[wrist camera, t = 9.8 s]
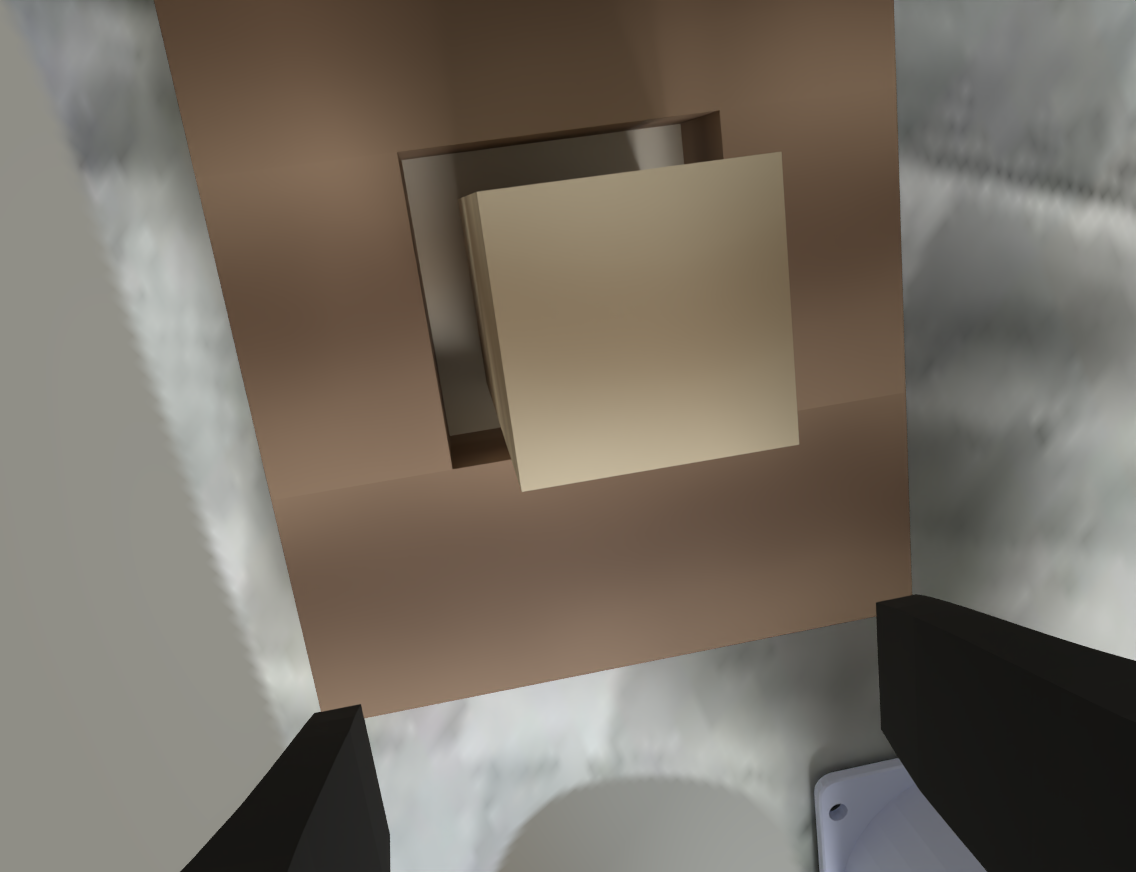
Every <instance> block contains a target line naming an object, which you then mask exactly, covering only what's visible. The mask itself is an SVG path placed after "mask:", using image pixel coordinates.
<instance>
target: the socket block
mask: <svg viewBox="0 0 1136 872" xmlns="http://www.w3.org/2000/svg"><path fill="white" fill-rule="evenodd" d="M154 3H155V7H156V11H157V16H158V20H159V24H160V28H161V33H162V37H163V41H164V45H165V50H166V54H167V58H168V62H169V67H170V71H171V75H172V79H173V84H174V88H175V92H176V96H177V101H178V105H179V109H180V113H181V118H182V122H183V126H184V130H185V135H186V139H187V143H188V148H189V152H190V156H191V160H192V165H193V169H194V173H195V177H196V182H197V186H198V190H199V194H200V199H201V203H202V207H203V211H204V216H205V220H206V224H207V228H208V233H209V237H210V241H211V245H212V250H213V254H214V258H215V262H216V267H217V271H218V275H219V279H220V284H221V288H222V292H223V296H224V301H225V305H226V309H227V313H228V318H229V322H230V326H231V330H232V335H233V339H234V343H235V347H236V352H237V356H238V360H239V364H240V369H241V373H242V377H243V381H244V386H245V390H246V394H247V398H248V403H249V407H250V411H251V415H252V420H253V424H254V428H255V432H256V437H257V441H258V445H259V449H260V454H261V458H262V462H263V466H264V471H265V475H266V479H267V483H268V488H269V492H270V496H271V500H272V505H273V509H274V513H275V517H276V522H277V526H278V530H279V534H280V539H281V543H282V547H283V552H284V556H285V560H286V564H287V569H288V573H289V577H290V581H291V586H292V590H293V594H294V598H295V603H296V607H297V611H298V615H299V620H300V624H301V628H302V632H303V637H304V641H305V645H306V649H307V654H308V658H309V662H310V666H311V671H312V675H313V679H314V683H315V688H316V692H317V696H318V700H319V705H320V709H321V712H323V711H328V710H333V709H338V708H343V707H348V706H353V705H358V704H361V706H362V711H363V715H364V718H368V717H373V716H378V715H383V714H388V713H393V712H398V711H403V710H408V709H413V708H418V707H423V706H428V705H433V704H438V703H443V702H449V701H454V700H459V699H464V698H469V697H474V696H479V695H484V694H489V693H494V692H499V691H504V690H509V689H514V688H519V687H524V686H529V685H534V684H539V683H544V682H549V681H554V680H559V679H564V678H569V677H574V676H579V675H584V674H589V673H594V672H599V671H604V670H609V669H614V668H619V667H624V666H629V665H634V664H639V663H644V662H649V661H654V660H659V659H664V658H669V657H674V656H679V655H684V654H689V653H694V652H699V651H705V650H710V649H715V648H720V647H725V646H730V645H735V644H740V643H745V642H750V641H755V640H760V639H765V638H770V637H775V636H780V635H785V634H790V633H795V632H800V631H805V630H810V629H815V628H820V627H825V626H830V625H835V624H840V623H845V622H850V621H855V620H860V619H865V618H870V617H875V616H876V602H880V601H885V600H890V599H895V598H900V597H905V596H910V595H912V578H911V546H910V514H909V481H908V449H907V416H906V384H905V352H904V319H903V287H902V254H901V222H900V190H899V157H898V125H897V92H896V60H895V28H894V0H154ZM775 152H781V153H782V169H783V186H784V202H785V218H786V235H787V251H788V267H789V284H790V300H791V317H792V333H793V349H794V366H795V382H796V399H797V415H798V431H799V445H794V446H788V447H782V448H776V449H771V450H765V451H759V452H753V453H747V454H741V455H735V456H730V457H724V458H718V459H712V460H706V461H700V462H694V463H689V464H683V465H677V466H671V467H665V468H659V469H653V470H648V471H642V472H636V473H630V474H624V475H618V476H612V477H607V478H601V479H595V480H589V481H583V482H577V483H571V484H566V485H560V486H554V487H548V488H542V489H536V490H530V491H525V492H522V491H521V488H520V485H519V482H518V479H517V476H516V473H515V470H514V466H513V463H512V460H511V457H510V454H509V451H508V448H507V445H506V442H505V439H504V435H503V432H502V429H501V426H500V423H499V420H498V417H497V414H496V411H495V408H494V404H493V401H492V398H491V395H490V392H489V389H488V386H487V383H486V376H485V370H484V364H483V357H482V351H481V344H480V338H479V332H478V325H477V319H476V312H475V306H474V300H473V293H472V287H471V280H470V274H469V268H468V261H467V255H466V248H465V242H464V236H463V229H462V223H461V216H460V210H459V204H458V199H460V198H462V197H465V196H467V195H470V194H472V193H475V192H479V191H486V190H494V189H501V188H509V187H517V186H524V185H532V184H539V183H547V182H555V181H562V180H570V179H577V178H585V177H593V176H600V175H608V174H615V173H623V172H631V171H638V170H646V169H653V168H661V167H669V166H676V165H684V164H691V163H699V162H706V161H714V160H722V159H729V158H737V157H744V156H752V155H760V154H767V153H775Z"/></svg>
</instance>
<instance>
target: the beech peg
mask: <svg viewBox="0 0 1136 872" xmlns="http://www.w3.org/2000/svg"><path fill="white" fill-rule="evenodd" d="M458 204H459V210H460V216H461V223H462V229H463V236H464V242H465V248H466V255H467V261H468V268H469V274H470V280H471V287H472V293H473V300H474V306H475V312H476V319H477V325H478V332H479V338H480V344H481V351H482V357H483V364H484V370H485V376H486V383H487V386H488V389H489V392H490V395H491V398H492V401H493V404H494V408H495V411H496V414H497V417H498V420H499V423H500V426H501V429H502V432H503V435H504V439H505V442H506V445H507V448H508V451H509V454H510V457H511V460H512V463H513V466H514V470H515V473H516V476H517V479H518V482H519V485H520V488H521V491H522V492H525V491H530V490H536V489H542V488H548V487H554V486H560V485H566V484H571V483H577V482H583V481H589V480H595V479H601V478H607V477H612V476H618V475H624V474H630V473H636V472H642V471H648V470H653V469H659V468H665V467H671V466H677V465H683V464H689V463H694V462H700V461H706V460H712V459H718V458H724V457H730V456H735V455H741V454H747V453H753V452H759V451H765V450H771V449H776V448H782V447H788V446H794V445H799V431H798V415H797V399H796V382H795V366H794V349H793V333H792V317H791V300H790V284H789V267H788V251H787V235H786V218H785V202H784V186H783V169H782V153H781V152H775V153H767V154H760V155H752V156H744V157H737V158H729V159H722V160H714V161H706V162H699V163H691V164H684V165H676V166H669V167H661V168H653V169H646V170H638V171H631V172H623V173H615V174H608V175H600V176H593V177H585V178H577V179H570V180H562V181H555V182H547V183H539V184H532V185H524V186H517V187H509V188H501V189H494V190H486V191H479V192H475V193H472V194H470V195H467V196H465V197H462V198H460V199H458Z"/></svg>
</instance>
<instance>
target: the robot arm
mask: <svg viewBox="0 0 1136 872" xmlns="http://www.w3.org/2000/svg"><path fill="white" fill-rule="evenodd" d="M876 619H877V642H878V665H879V688H880V712H881V730H882V731H883V733H884V735H885V736H886V738H887V740H888V741H889V743H890V744H891V746H892V748H893V749H894V751H895V753H896V754H897V756H898V758H895V759H891V760H886V761H882V762H877V763H873V764H868V765H863V766H859V767H854V768H850V769H845V770H841V771H836V772H831V773H829V774H826V775H824V776H823V777H822V778H820V779H819V780H818V782H817V784H816V785H815V790H814V797H815V812H816V826H817V841H818V856H819V871H820V872H1136V661H1134V660H1131V659H1127V658H1123V657H1120V656H1116V655H1113V654H1109V653H1106V652H1102V651H1099V650H1095V649H1092V648H1089V647H1085V646H1082V645H1079V644H1076V643H1072V642H1069V641H1066V640H1063V639H1060V638H1057V637H1053V636H1050V635H1047V634H1044V633H1041V632H1038V631H1035V630H1032V629H1029V628H1026V627H1023V626H1020V625H1017V624H1014V623H1011V622H1008V621H1005V620H1002V619H999V618H996V617H993V616H990V615H987V614H984V613H981V612H978V611H975V610H972V609H969V608H966V607H963V606H959V605H956V604H953V603H950V602H946V601H943V600H939V599H935V598H932V597H927V596H923V595H918V594H915V595H910V596H905V597H900V598H895V599H890V600H885V601H880V602H876ZM836 804H840V806H839V807H838V808H837V809H836V810H834V811H830V809H831V808H832V807H833V806H834V805H836ZM180 872H390V833H389V829H388V824H387V820H386V815H385V811H384V806H383V801H382V797H381V792H380V788H379V783H378V779H377V774H376V770H375V765H374V761H373V756H372V752H371V747H370V743H369V738H368V734H367V729H366V725H365V720H364V715H363V711H362V706H361V704H358V705H353V706H348V707H343V708H338V709H333V710H328V711H323V712H318V713H314V714H313V715H312V717H311V718H310V719H309V720H308V721H307V723H306V724H305V725H304V726H303V728H302V729H301V730H300V732H299V733H298V734H297V735H296V737H295V738H294V739H293V741H292V742H291V743H290V744H289V746H288V747H287V748H286V750H285V751H284V752H283V753H282V755H281V756H280V757H279V759H278V760H277V761H276V762H275V764H274V765H273V766H272V767H271V769H270V770H269V771H268V773H267V774H266V775H265V776H264V777H263V779H262V780H261V781H260V782H259V784H258V785H257V786H256V788H255V789H254V790H253V791H252V792H251V794H250V795H249V796H248V797H247V799H246V800H245V801H244V802H243V803H242V805H241V806H240V807H239V808H238V809H237V810H236V812H235V813H234V814H233V815H232V816H231V817H230V818H229V819H228V820H227V821H226V823H225V824H224V825H223V826H222V827H221V828H220V829H219V830H218V831H217V832H216V834H215V835H214V836H213V837H212V838H211V839H210V840H209V841H208V842H207V844H206V845H205V846H204V847H203V848H202V849H201V850H200V851H199V852H198V854H197V855H196V856H195V857H194V858H193V859H192V860H191V861H190V862H189V863H188V864H187V865H186V866H185V867H184V868H183V869H182V871H180Z"/></svg>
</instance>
